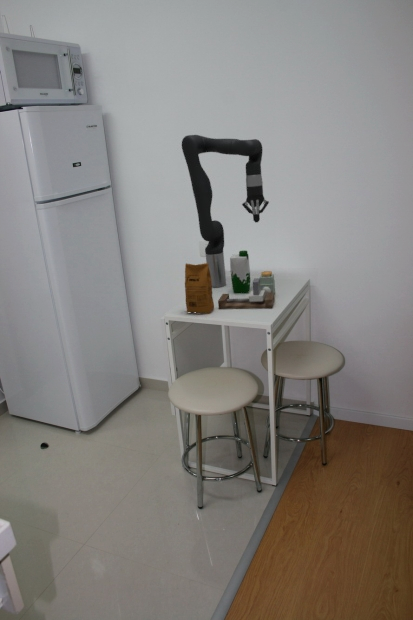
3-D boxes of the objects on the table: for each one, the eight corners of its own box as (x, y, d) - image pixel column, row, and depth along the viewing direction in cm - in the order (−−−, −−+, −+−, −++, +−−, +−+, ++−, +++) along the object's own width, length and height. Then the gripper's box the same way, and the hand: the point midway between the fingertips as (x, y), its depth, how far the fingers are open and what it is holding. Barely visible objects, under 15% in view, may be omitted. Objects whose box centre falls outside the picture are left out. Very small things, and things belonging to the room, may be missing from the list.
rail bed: (218, 309, 224) (218, 300, 223) (223, 301, 234) (222, 293, 232) (272, 308, 218) (271, 299, 217) (274, 301, 228) (274, 292, 226)
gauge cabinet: (260, 299, 232) (258, 278, 229) (262, 293, 239) (261, 273, 236) (273, 299, 230) (272, 278, 227) (275, 293, 238) (274, 273, 235)
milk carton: (249, 293, 242) (246, 253, 235) (231, 294, 244) (228, 254, 237) (252, 288, 250) (249, 249, 243) (234, 289, 252) (230, 250, 245)
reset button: (261, 282, 231) (260, 274, 230) (262, 279, 235) (262, 271, 234) (271, 282, 230) (271, 273, 228) (272, 279, 234) (272, 270, 233)
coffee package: (191, 307, 231) (186, 260, 224) (217, 307, 227) (212, 260, 220) (183, 314, 222) (178, 266, 215) (210, 315, 218) (205, 266, 211)
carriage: (249, 301, 221) (248, 283, 218) (252, 295, 228) (250, 277, 225) (262, 301, 219) (261, 282, 217) (265, 295, 227) (264, 277, 224)
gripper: (238, 186, 230) (241, 224, 236) (267, 184, 227) (269, 222, 232) (241, 185, 237) (244, 221, 243) (269, 182, 234) (271, 219, 239)
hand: (256, 222), depth 237 cm, fingers closed
